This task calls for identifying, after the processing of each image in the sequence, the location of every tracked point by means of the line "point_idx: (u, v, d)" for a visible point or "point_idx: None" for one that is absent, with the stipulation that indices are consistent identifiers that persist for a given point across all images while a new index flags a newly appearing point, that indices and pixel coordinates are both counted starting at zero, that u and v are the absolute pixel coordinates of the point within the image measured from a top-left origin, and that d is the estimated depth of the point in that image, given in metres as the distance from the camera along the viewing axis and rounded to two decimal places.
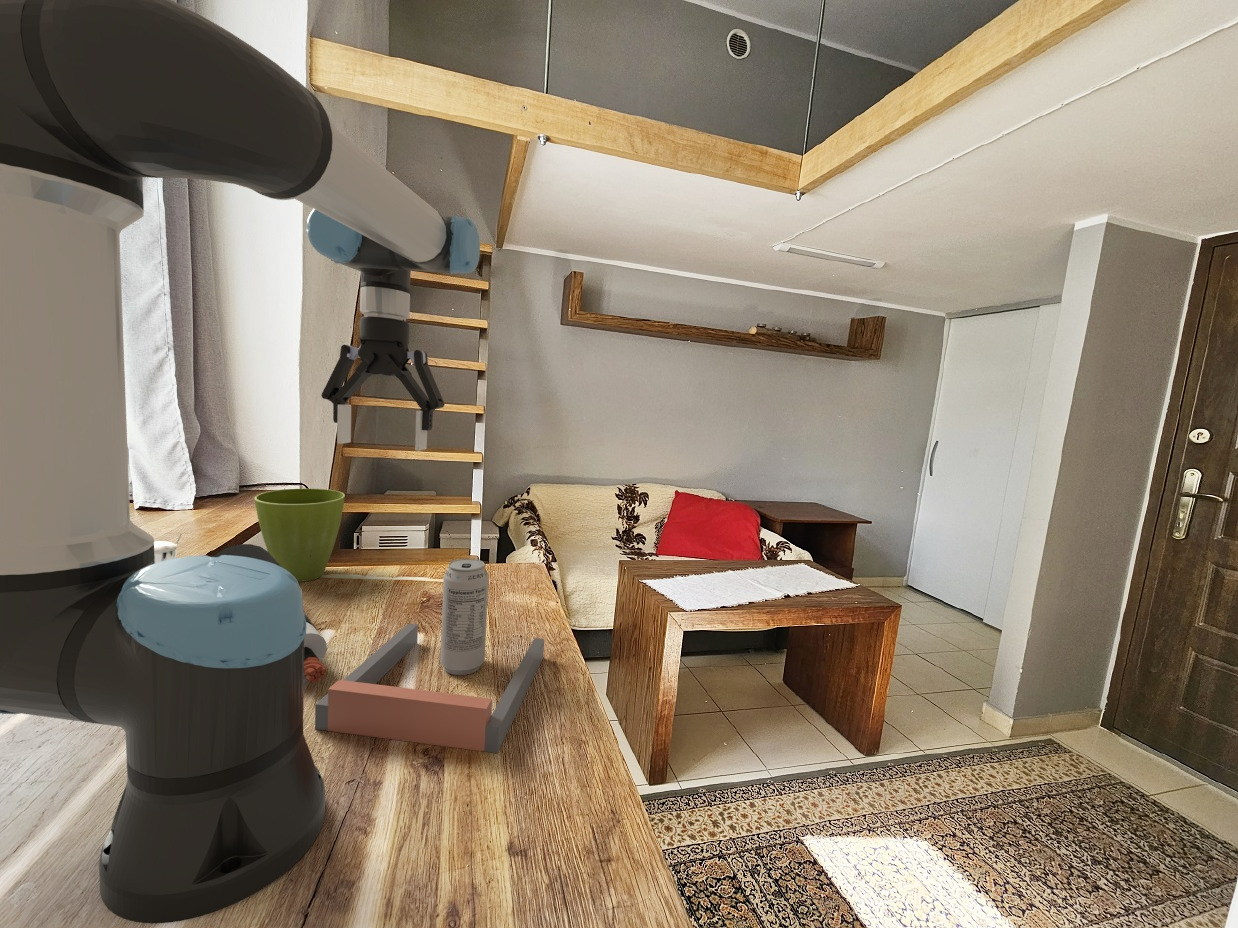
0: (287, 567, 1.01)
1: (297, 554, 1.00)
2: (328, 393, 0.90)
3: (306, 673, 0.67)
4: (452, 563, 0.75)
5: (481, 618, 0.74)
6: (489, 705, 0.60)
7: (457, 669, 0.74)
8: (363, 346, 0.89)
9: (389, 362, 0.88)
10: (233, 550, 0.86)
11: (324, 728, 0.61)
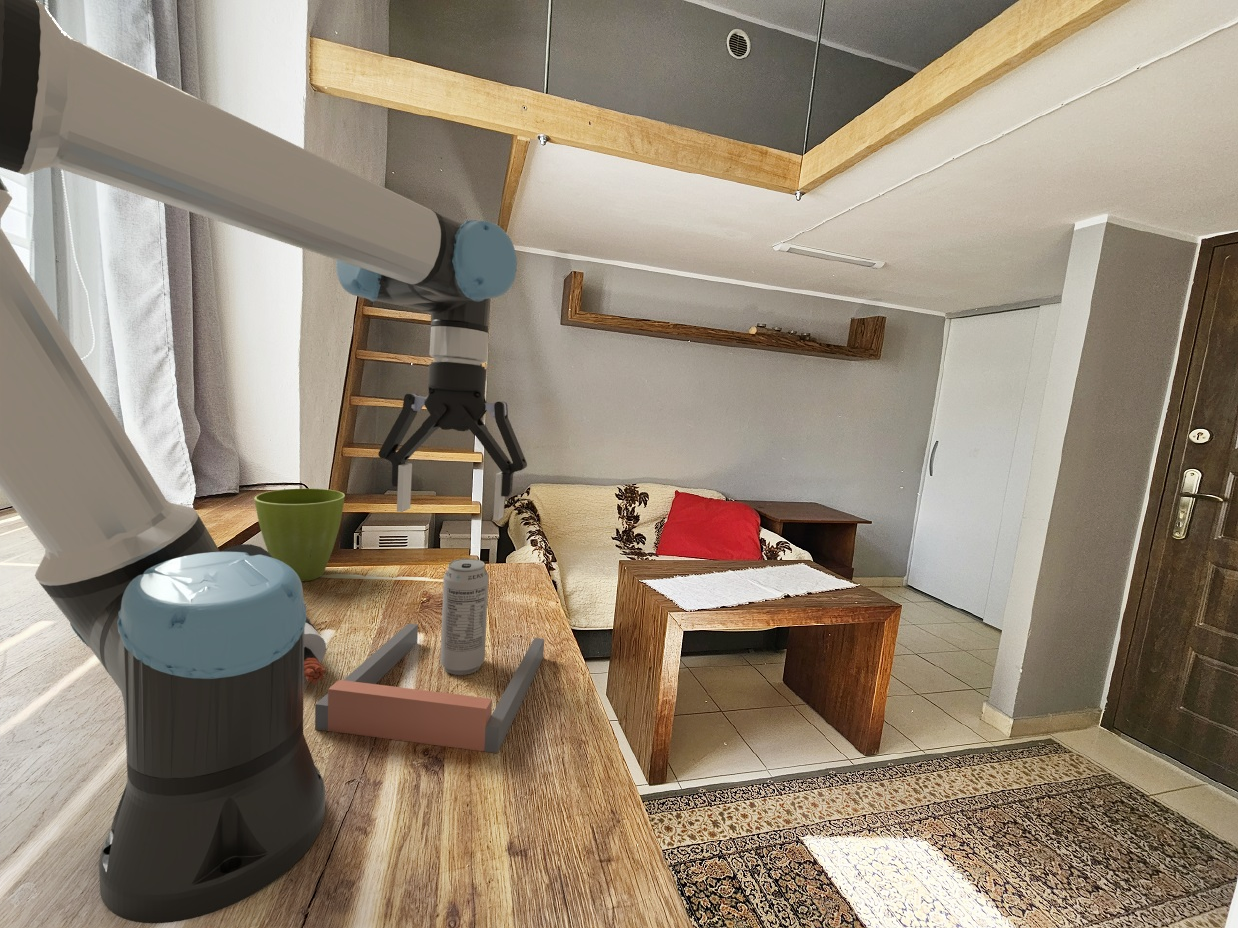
0: None
1: (297, 554, 1.00)
2: (387, 451, 0.75)
3: (305, 673, 0.67)
4: (452, 563, 0.75)
5: (481, 618, 0.74)
6: (489, 705, 0.60)
7: (457, 669, 0.74)
8: (432, 396, 0.74)
9: (465, 416, 0.73)
10: (233, 550, 0.86)
11: (324, 728, 0.61)
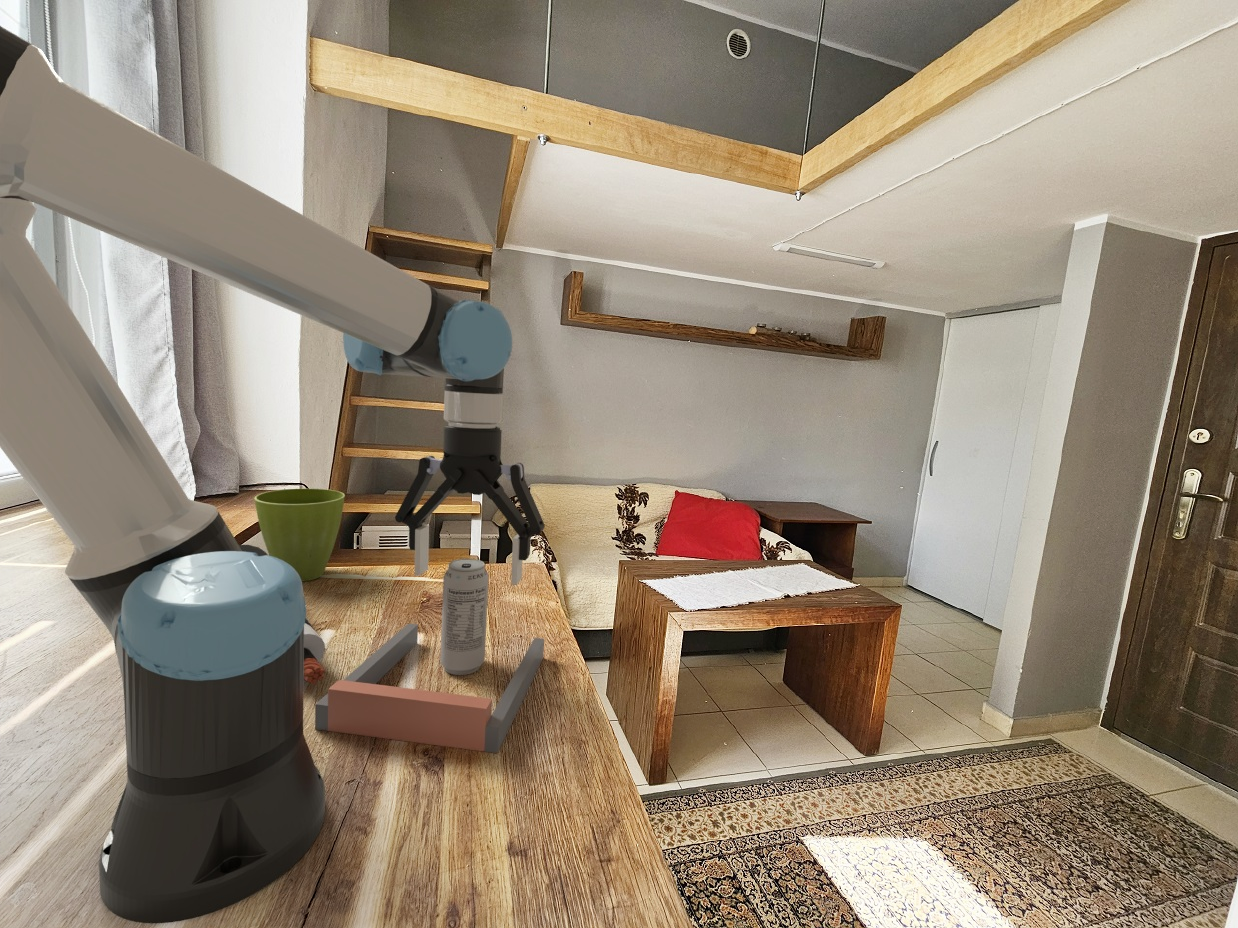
0: None
1: (297, 554, 1.00)
2: (403, 515, 0.74)
3: (304, 674, 0.67)
4: (452, 563, 0.75)
5: (481, 618, 0.74)
6: (489, 705, 0.60)
7: (457, 669, 0.74)
8: (447, 459, 0.72)
9: (480, 480, 0.72)
10: None
11: (324, 728, 0.61)
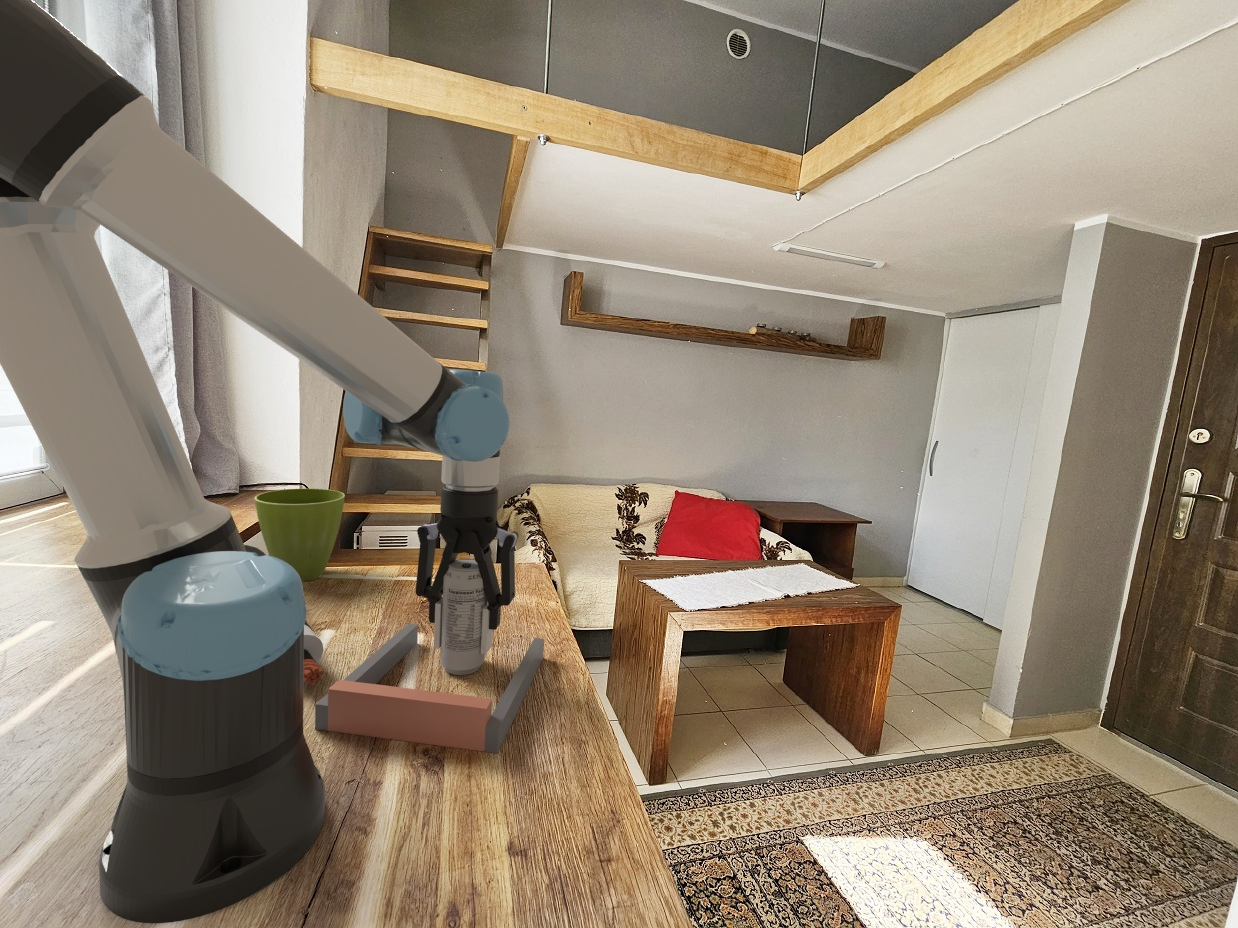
0: None
1: (297, 554, 1.00)
2: (422, 588, 0.75)
3: None
4: (452, 563, 0.75)
5: (481, 618, 0.74)
6: (489, 705, 0.60)
7: (457, 669, 0.74)
8: (444, 520, 0.73)
9: (476, 541, 0.72)
10: None
11: (324, 728, 0.61)
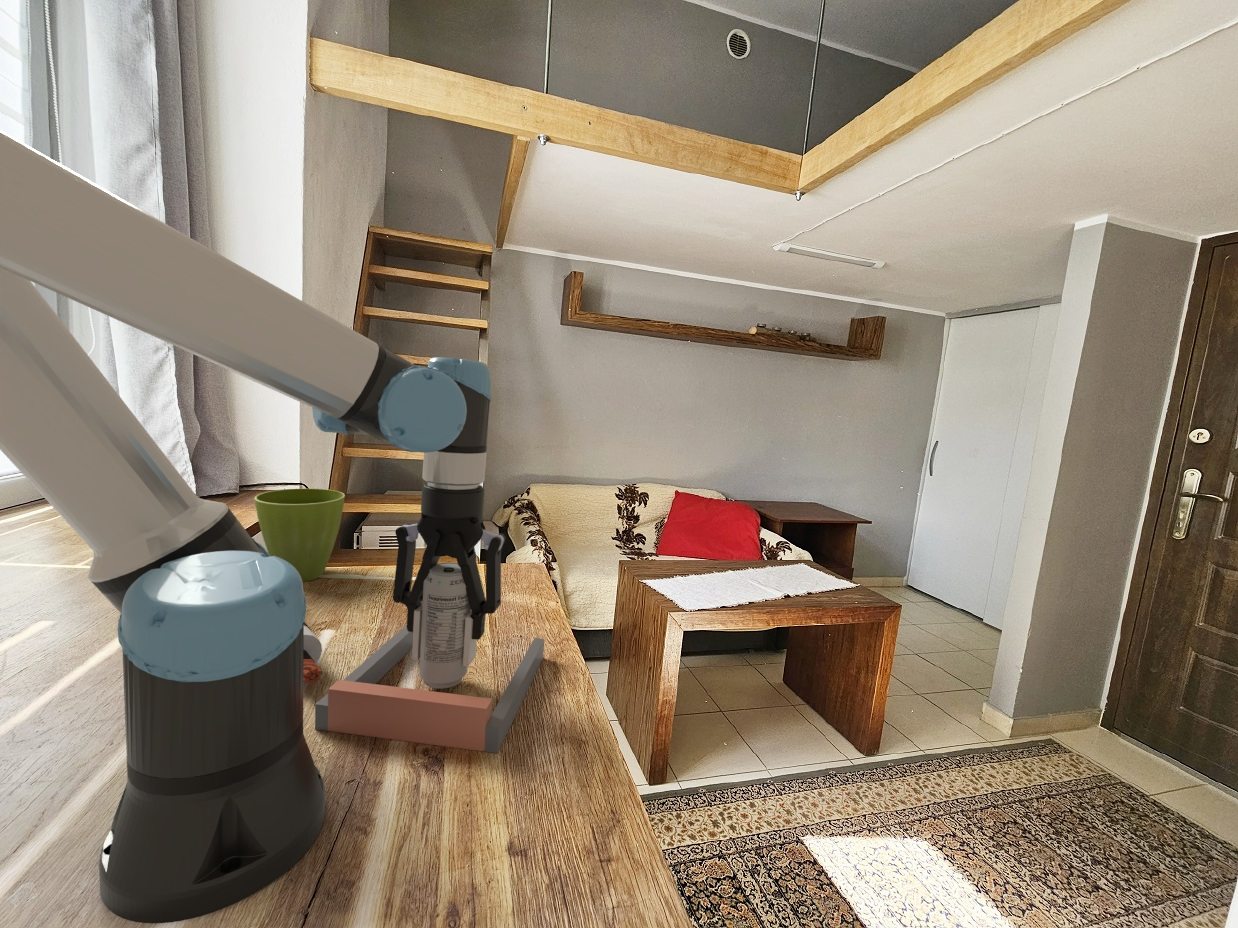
0: None
1: (297, 554, 1.00)
2: (400, 594, 0.69)
3: None
4: (433, 567, 0.69)
5: (464, 626, 0.69)
6: (489, 705, 0.60)
7: (437, 682, 0.68)
8: (425, 520, 0.68)
9: (460, 544, 0.67)
10: None
11: (324, 728, 0.61)
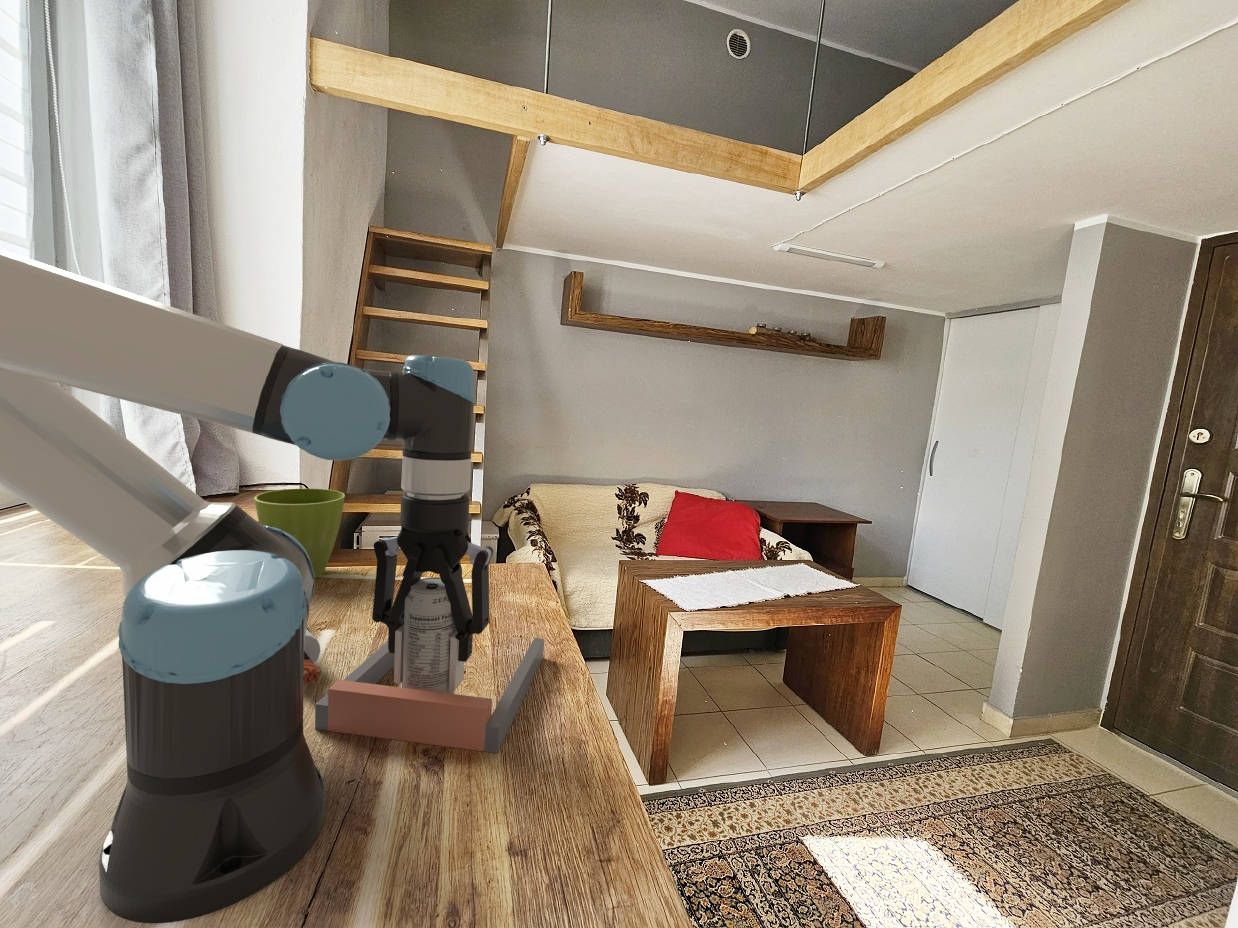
0: None
1: None
2: (380, 613, 0.64)
3: None
4: (415, 583, 0.64)
5: (449, 648, 0.63)
6: (489, 705, 0.60)
7: None
8: (405, 533, 0.62)
9: (443, 559, 0.61)
10: None
11: (324, 728, 0.61)
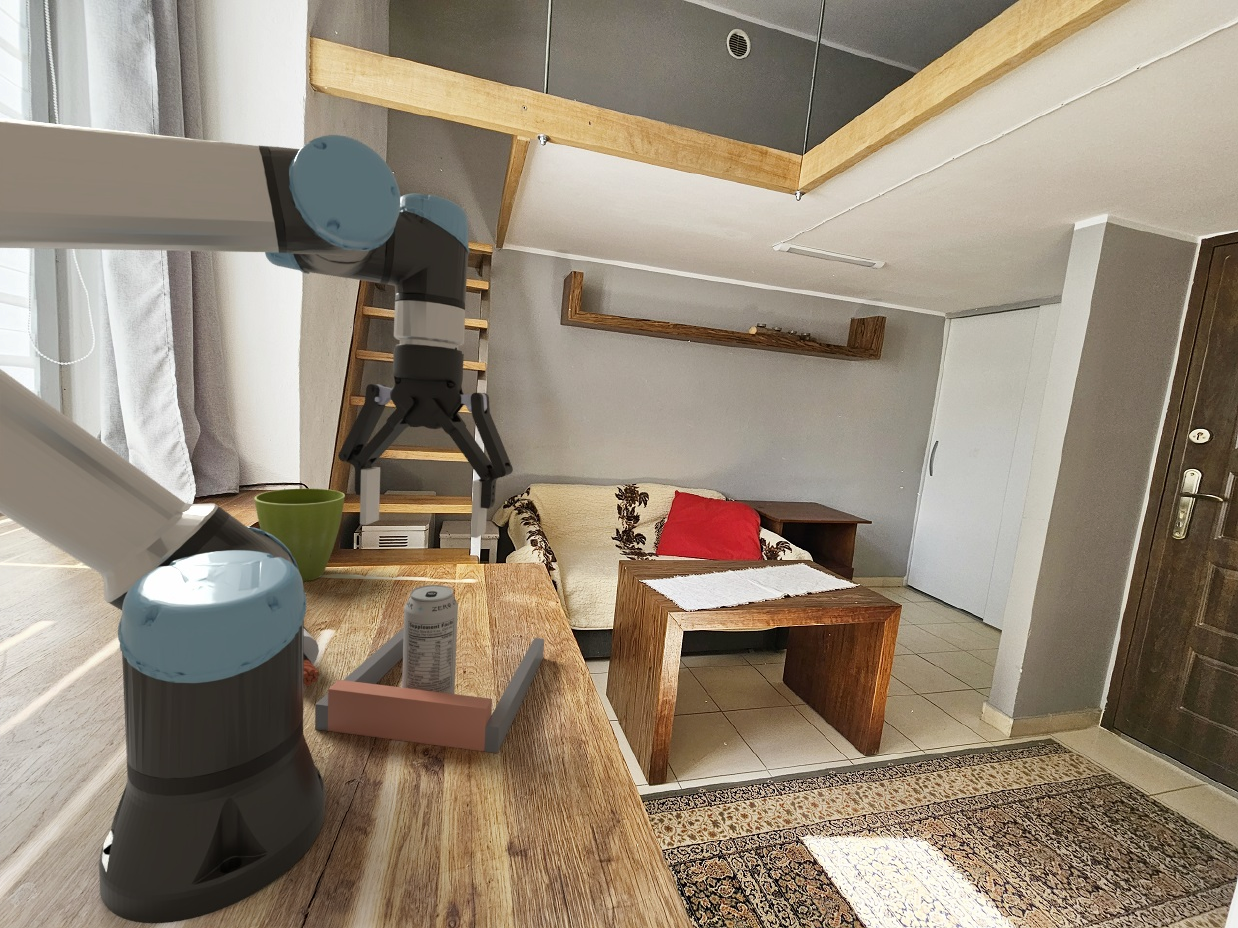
0: None
1: (297, 554, 1.00)
2: (348, 453, 0.63)
3: None
4: (415, 591, 0.64)
5: (449, 655, 0.64)
6: (489, 705, 0.60)
7: None
8: (398, 386, 0.61)
9: (435, 410, 0.60)
10: None
11: (324, 728, 0.61)
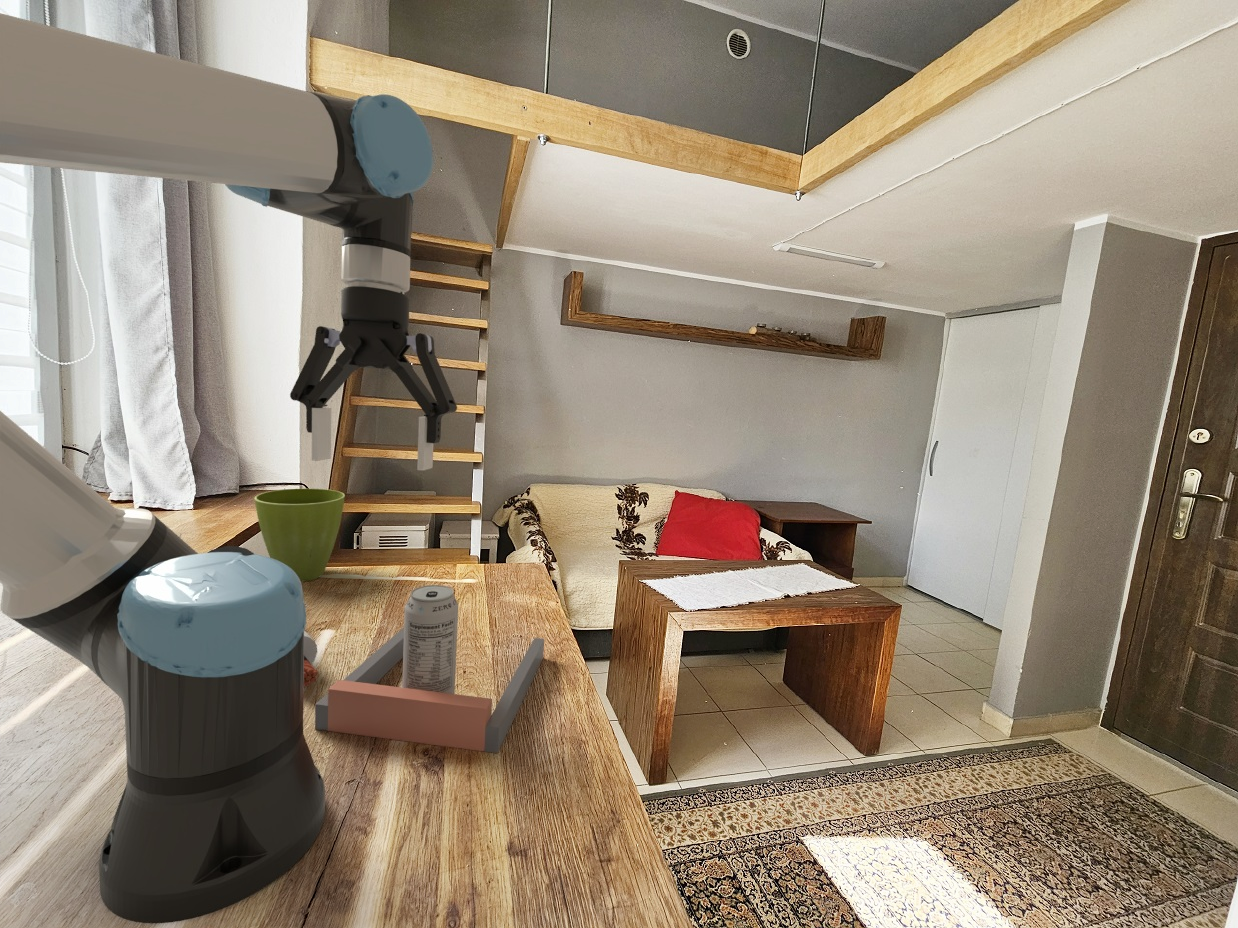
0: None
1: (297, 554, 1.00)
2: (299, 392, 0.67)
3: None
4: (415, 591, 0.64)
5: (449, 655, 0.64)
6: (489, 705, 0.60)
7: None
8: (346, 328, 0.65)
9: (382, 350, 0.64)
10: None
11: (324, 728, 0.61)
